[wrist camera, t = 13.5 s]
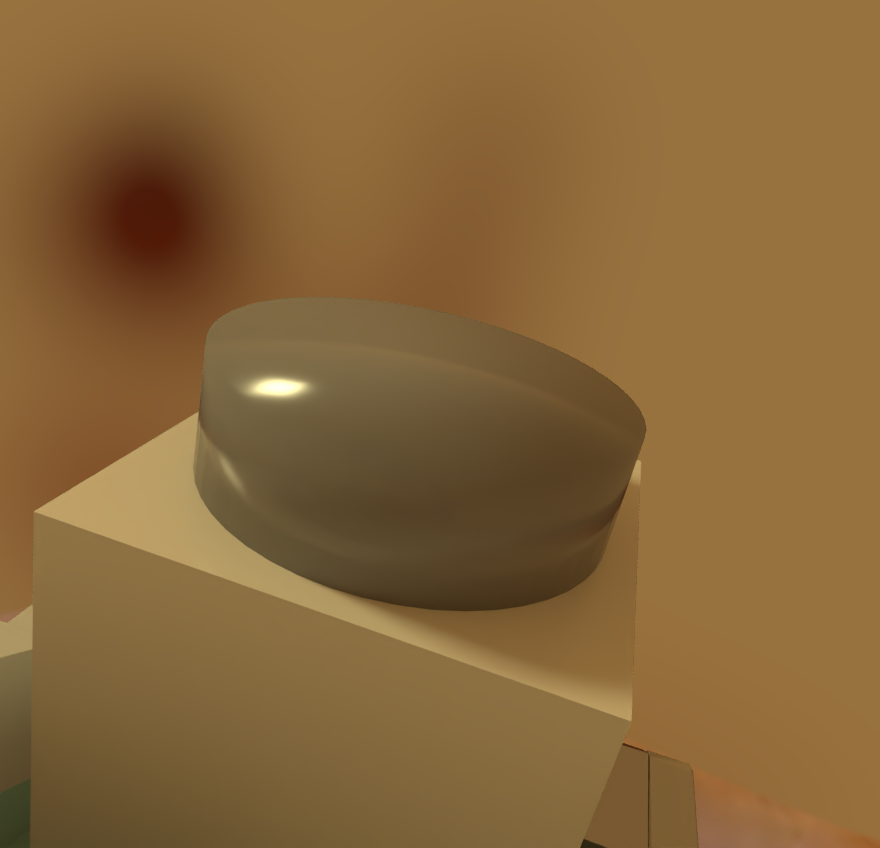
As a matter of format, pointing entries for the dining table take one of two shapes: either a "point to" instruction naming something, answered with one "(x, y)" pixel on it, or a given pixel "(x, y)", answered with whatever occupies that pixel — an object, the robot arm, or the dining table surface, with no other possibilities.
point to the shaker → (344, 597)
